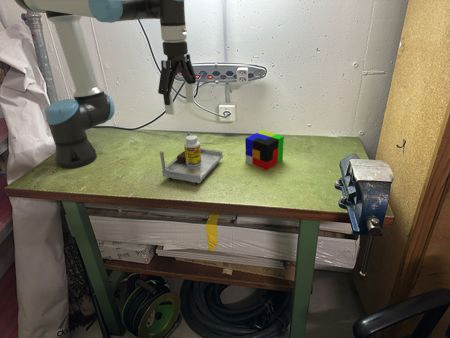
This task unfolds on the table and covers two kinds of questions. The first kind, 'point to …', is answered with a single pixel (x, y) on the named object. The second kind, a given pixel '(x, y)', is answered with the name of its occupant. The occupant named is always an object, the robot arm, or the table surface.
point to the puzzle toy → (264, 149)
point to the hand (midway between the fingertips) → (180, 107)
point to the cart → (191, 172)
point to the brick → (182, 157)
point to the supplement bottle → (192, 151)
